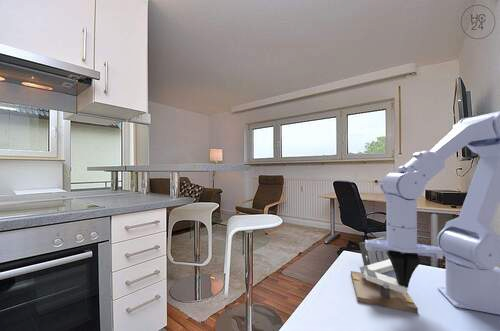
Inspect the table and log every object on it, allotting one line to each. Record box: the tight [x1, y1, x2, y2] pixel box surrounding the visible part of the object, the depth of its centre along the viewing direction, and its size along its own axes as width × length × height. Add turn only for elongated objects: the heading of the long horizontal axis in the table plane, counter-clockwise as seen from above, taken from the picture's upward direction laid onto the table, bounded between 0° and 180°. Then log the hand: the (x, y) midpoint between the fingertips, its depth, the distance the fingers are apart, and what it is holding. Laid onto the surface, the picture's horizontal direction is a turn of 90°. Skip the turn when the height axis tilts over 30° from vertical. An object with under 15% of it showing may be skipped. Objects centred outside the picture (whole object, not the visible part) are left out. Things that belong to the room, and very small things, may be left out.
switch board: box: [350, 270, 419, 314], centre depth 53 cm, size 12×13×3 cm
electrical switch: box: [358, 237, 389, 266], centre depth 66 cm, size 9×5×9 cm, turn 116°
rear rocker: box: [359, 259, 394, 278], centre depth 56 cm, size 8×4×2 cm, turn 71°
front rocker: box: [364, 268, 409, 294], centre depth 50 cm, size 8×4×2 cm, turn 71°
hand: (401, 285), depth 49 cm, fingers closed, pressing on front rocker
